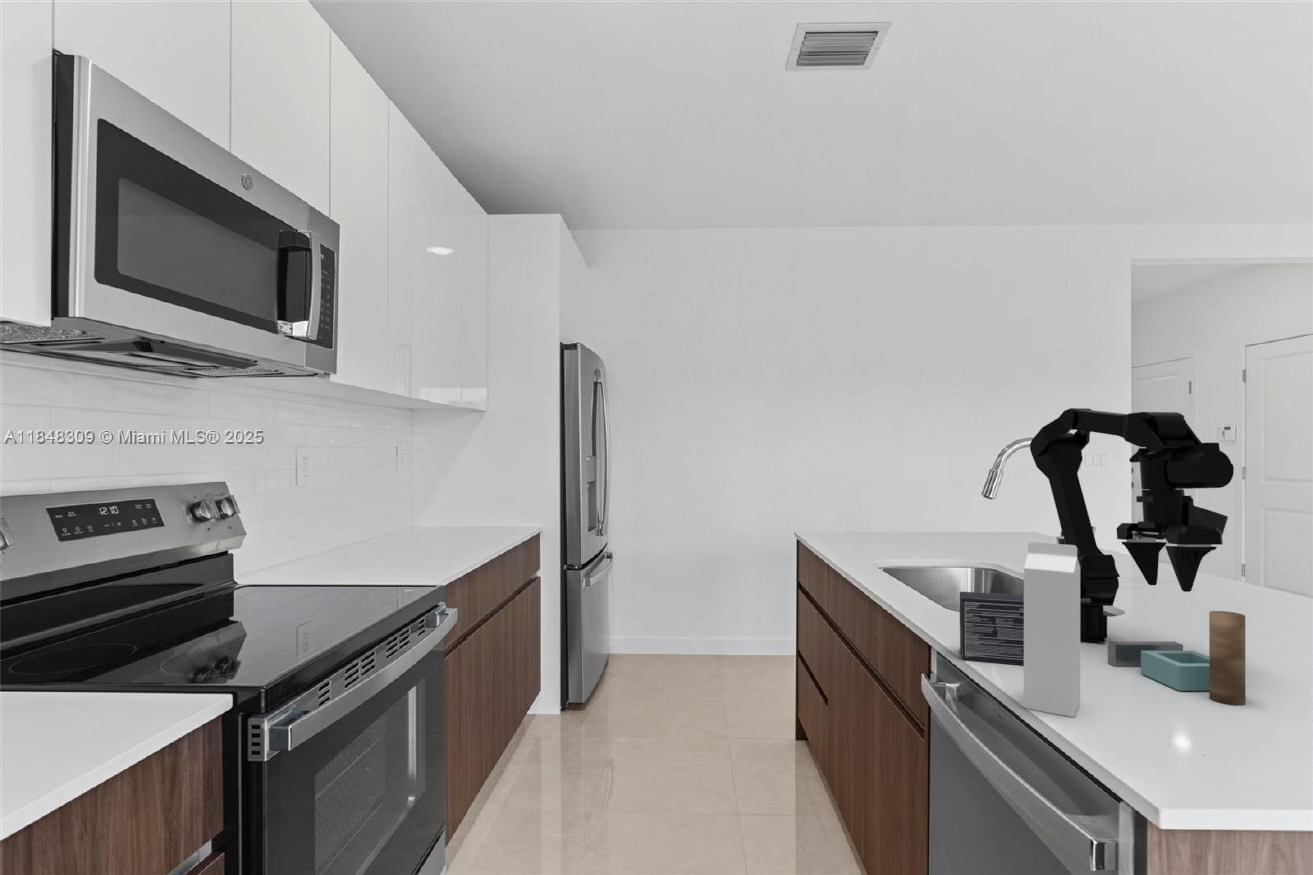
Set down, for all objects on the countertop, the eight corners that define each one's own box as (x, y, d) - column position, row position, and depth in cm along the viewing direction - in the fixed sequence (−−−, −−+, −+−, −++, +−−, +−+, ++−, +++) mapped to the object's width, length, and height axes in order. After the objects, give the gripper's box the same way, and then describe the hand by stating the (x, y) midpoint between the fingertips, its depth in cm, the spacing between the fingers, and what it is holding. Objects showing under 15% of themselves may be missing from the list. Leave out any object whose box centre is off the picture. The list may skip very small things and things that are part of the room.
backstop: (1107, 663, 122) (1107, 641, 123) (1174, 663, 123) (1174, 641, 123) (1115, 666, 120) (1115, 644, 121) (1183, 666, 121) (1183, 644, 121)
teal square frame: (1141, 673, 117) (1141, 650, 117) (1193, 673, 117) (1193, 650, 117) (1179, 690, 108) (1179, 666, 108) (1235, 690, 109) (1235, 666, 109)
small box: (1026, 656, 126) (1027, 593, 127) (1032, 667, 120) (1032, 601, 120) (959, 650, 130) (959, 589, 130) (961, 660, 124) (961, 596, 124)
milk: (1032, 697, 106) (1031, 539, 106) (1081, 705, 102) (1080, 543, 103) (1023, 708, 101) (1022, 543, 101) (1074, 718, 97) (1073, 547, 98)
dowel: (1212, 702, 104) (1212, 615, 104) (1206, 694, 107) (1206, 609, 108) (1248, 707, 102) (1248, 618, 102) (1241, 698, 106) (1241, 612, 106)
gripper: (1257, 488, 111) (1265, 595, 110) (1180, 490, 129) (1186, 582, 128) (1177, 488, 112) (1184, 595, 111) (1112, 490, 130) (1118, 582, 129)
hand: (1169, 588), depth 120 cm, fingers open, 9 cm apart
